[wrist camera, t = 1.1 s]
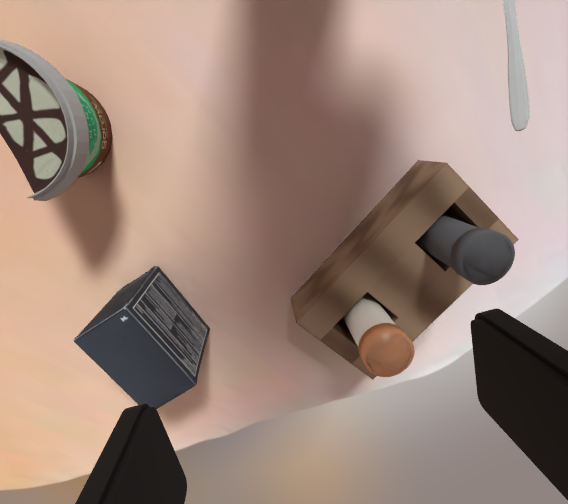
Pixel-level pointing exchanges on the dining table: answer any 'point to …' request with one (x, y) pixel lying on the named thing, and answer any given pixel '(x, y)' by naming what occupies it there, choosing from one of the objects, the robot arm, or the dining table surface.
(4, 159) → the dining table surface
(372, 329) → the orange-brown and white plug
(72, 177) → the food container
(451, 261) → the black plug
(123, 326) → the small box
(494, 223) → the block
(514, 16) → the butter knife
